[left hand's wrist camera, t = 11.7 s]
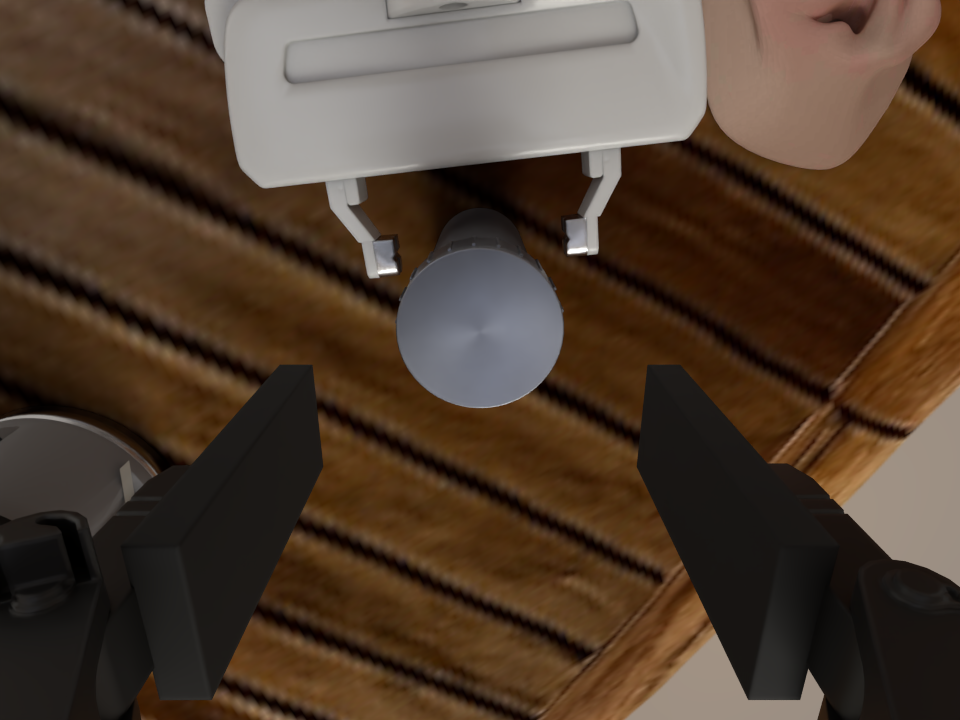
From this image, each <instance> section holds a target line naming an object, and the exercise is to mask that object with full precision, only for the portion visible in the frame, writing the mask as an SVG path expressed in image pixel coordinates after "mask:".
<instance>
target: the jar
mask: <svg viewBox="0 0 960 720" xmlns="http://www.w3.org/2000/svg"><path fill="white" fill-rule="evenodd" d="M473 236H476V238H481V237H482V238H493V239H496V237H497V238H499V240H502V241H505V242H507V243H510V244H513V245H515V246H516V247H517V246H518V245H519V246H521V249H522V250H523V251H525V252H526V249H525V247H524V244H523V242H522V239H521V237H520V235H519V232H518V230H517V229H516V227H515V225H514V224H513V223H512V222H511V221H510V220H509V219H508V218H507V217H506V216H504V215H503V214H501V213H499V212H497V211H495V210H492V209H487V208H473V209H468V210H465V211H463V212H461V213H459V214H457V215H456V216H454V217H453V218H452V219H451V220H450V221H449V222H448V223H447V224H446V225H445V227H444V228H443V230H442V232H441V234H440V237H439V239H438V242H437V244H436V246H435V249H434V251H433V253H434V252H435V251H437V250H438V249H440V248H441V247H443V246H446V245H448V244H449V243H450V241H452V240H453V242H455V241H459V240H462V239H468V238H473ZM526 253H527V252H526Z"/></svg>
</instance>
